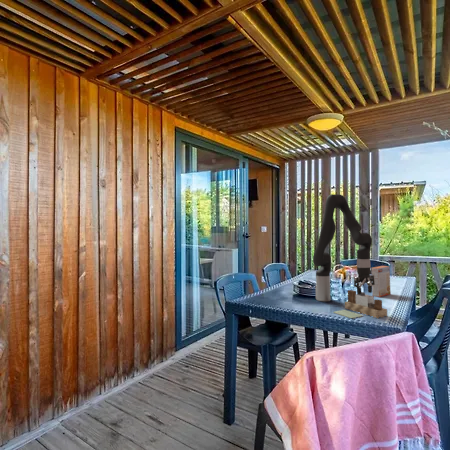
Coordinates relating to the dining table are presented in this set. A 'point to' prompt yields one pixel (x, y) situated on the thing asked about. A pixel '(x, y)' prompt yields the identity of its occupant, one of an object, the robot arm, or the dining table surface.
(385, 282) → the cracker box
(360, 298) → the beige rectangular block
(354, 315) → the mat
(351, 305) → the plane body
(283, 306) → the dining table surface
